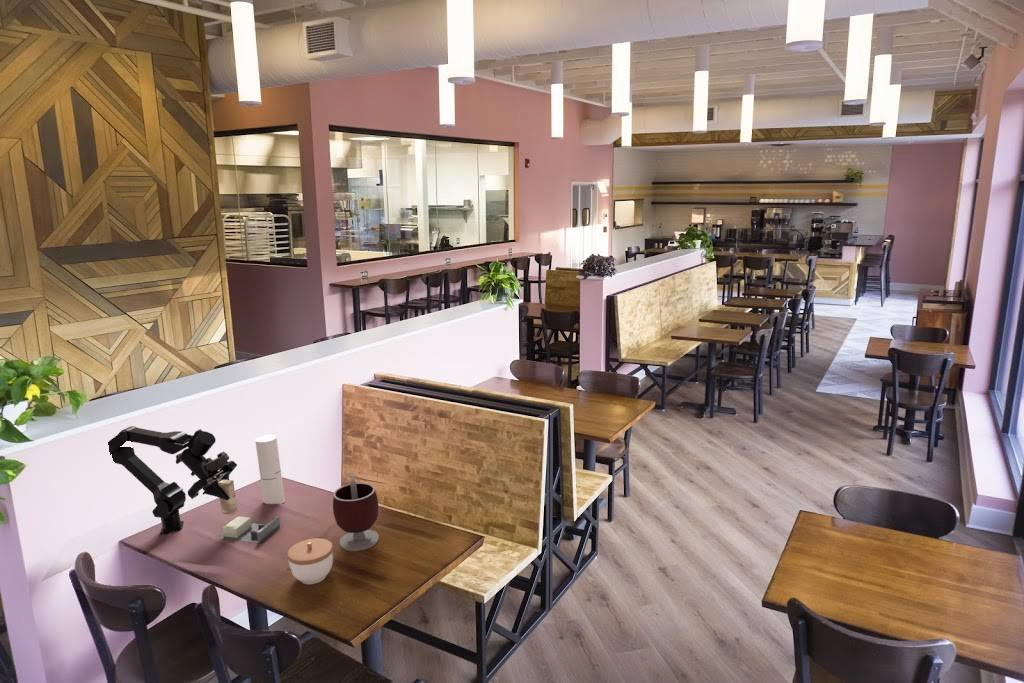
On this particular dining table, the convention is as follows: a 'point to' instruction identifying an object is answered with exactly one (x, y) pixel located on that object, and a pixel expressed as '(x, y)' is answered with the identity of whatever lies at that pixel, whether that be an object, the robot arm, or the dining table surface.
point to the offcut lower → (238, 532)
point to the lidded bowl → (311, 560)
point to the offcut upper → (236, 525)
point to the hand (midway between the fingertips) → (231, 497)
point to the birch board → (230, 504)
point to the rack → (256, 532)
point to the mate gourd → (356, 514)
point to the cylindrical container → (270, 469)
